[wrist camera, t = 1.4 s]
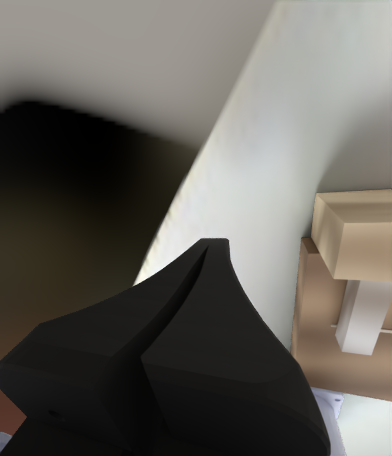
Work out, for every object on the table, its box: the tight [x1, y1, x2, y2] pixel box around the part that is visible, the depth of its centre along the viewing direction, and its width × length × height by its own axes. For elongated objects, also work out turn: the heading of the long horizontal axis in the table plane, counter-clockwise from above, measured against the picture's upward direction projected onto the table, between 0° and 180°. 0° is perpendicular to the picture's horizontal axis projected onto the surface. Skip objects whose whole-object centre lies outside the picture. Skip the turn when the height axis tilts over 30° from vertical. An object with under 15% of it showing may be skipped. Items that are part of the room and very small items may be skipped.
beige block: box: [311, 189, 392, 355], centre depth 12 cm, size 10×5×4 cm, turn 8°
